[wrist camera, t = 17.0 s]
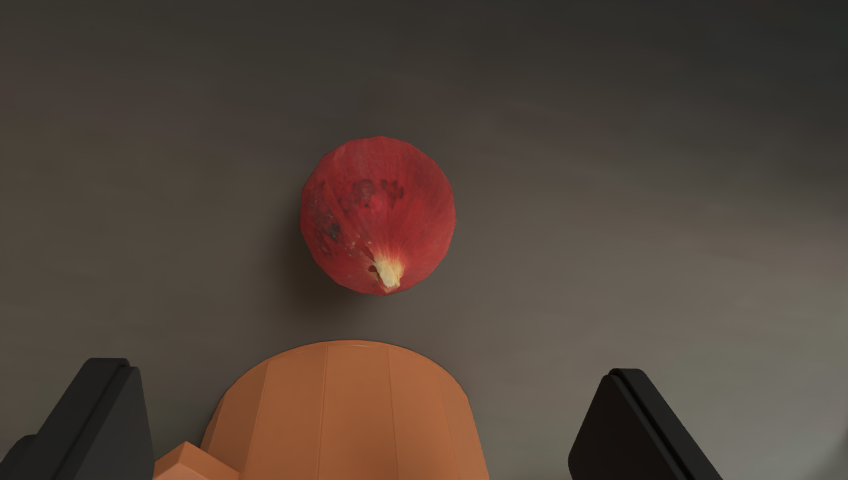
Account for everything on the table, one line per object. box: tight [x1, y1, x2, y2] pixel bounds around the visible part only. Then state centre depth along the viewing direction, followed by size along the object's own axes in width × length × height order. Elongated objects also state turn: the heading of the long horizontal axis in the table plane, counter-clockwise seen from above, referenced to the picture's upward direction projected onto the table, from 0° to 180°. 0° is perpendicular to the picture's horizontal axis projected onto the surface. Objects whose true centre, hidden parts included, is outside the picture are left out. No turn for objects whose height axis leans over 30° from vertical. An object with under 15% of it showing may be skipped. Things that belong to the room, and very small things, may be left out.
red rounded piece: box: [300, 136, 456, 296], centre depth 18 cm, size 6×6×8 cm
